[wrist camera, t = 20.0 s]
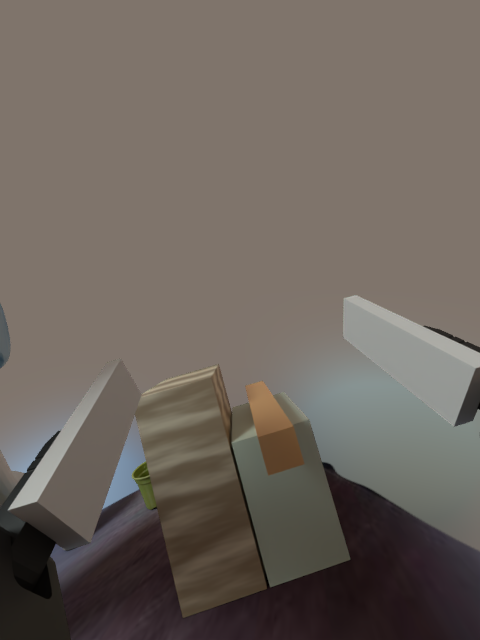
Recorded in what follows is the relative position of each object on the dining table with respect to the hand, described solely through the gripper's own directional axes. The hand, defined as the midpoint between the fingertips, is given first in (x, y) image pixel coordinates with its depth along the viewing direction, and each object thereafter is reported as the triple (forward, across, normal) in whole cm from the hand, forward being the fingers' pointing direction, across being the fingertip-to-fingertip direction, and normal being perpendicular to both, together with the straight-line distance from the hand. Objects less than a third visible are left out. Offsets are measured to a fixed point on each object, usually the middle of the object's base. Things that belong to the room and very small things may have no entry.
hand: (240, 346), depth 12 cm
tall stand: (+7, -11, -44) cm, 45 cm away
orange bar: (+12, +2, -24) cm, 27 cm away
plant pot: (+22, -29, -53) cm, 65 cm away
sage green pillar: (+7, +2, -44) cm, 44 cm away
